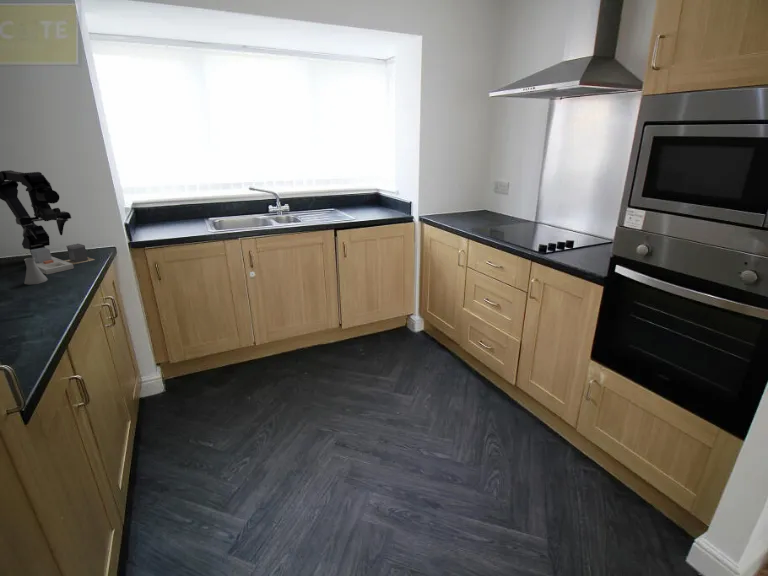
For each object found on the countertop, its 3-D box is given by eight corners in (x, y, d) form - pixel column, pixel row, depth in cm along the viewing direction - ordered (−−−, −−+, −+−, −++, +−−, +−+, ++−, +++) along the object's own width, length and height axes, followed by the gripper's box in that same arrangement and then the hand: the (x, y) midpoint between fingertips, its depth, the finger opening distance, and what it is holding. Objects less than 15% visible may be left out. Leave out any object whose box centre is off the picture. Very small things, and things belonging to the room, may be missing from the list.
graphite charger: (70, 260, 194) (66, 245, 192) (82, 257, 198) (78, 243, 196) (76, 262, 191) (72, 247, 188) (88, 260, 195) (84, 245, 192)
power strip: (22, 264, 189) (20, 257, 188) (48, 259, 197) (46, 252, 196) (47, 275, 175) (44, 268, 174) (74, 269, 183) (72, 262, 182)
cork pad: (63, 261, 194) (63, 260, 194) (85, 257, 201) (85, 256, 201) (73, 265, 189) (73, 264, 188) (95, 260, 196) (95, 259, 195)
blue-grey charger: (34, 265, 187) (30, 249, 185) (48, 262, 191) (43, 247, 189) (40, 267, 184) (35, 251, 182) (53, 264, 188) (49, 249, 186)
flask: (38, 286, 163) (31, 261, 160) (20, 285, 164) (12, 261, 160) (52, 279, 170) (45, 256, 167) (34, 279, 170) (27, 256, 167)
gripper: (20, 206, 171) (31, 244, 177) (72, 200, 186) (81, 235, 191) (10, 204, 177) (21, 240, 183) (61, 198, 192) (70, 232, 197)
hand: (49, 237), depth 188 cm, fingers open, 9 cm apart
